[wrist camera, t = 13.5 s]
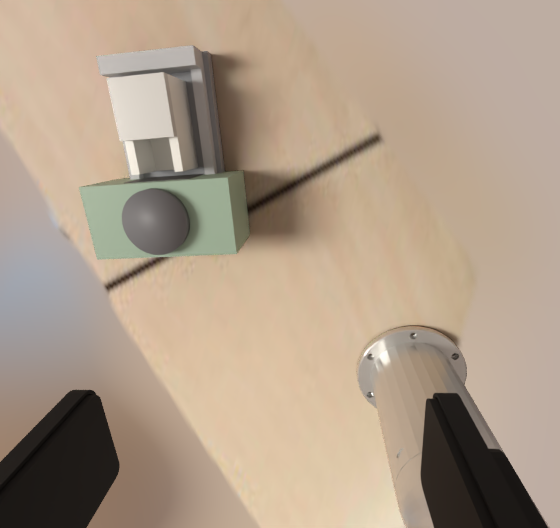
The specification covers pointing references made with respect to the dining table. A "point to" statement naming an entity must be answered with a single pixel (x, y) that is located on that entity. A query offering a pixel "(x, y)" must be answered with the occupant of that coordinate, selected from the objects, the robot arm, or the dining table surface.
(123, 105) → the white box on legs
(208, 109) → the toy coffee machine
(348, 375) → the dining table surface
